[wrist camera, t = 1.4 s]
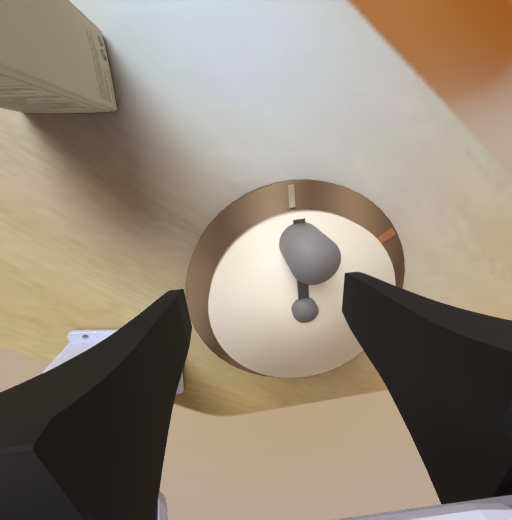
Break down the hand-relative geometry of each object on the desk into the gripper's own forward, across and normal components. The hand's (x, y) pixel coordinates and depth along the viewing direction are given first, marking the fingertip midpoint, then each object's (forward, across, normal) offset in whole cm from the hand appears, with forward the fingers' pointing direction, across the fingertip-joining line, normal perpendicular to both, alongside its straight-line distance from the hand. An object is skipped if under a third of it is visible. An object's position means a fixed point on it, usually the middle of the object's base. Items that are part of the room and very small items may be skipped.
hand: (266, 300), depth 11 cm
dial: (+8, -3, +5) cm, 11 cm away
